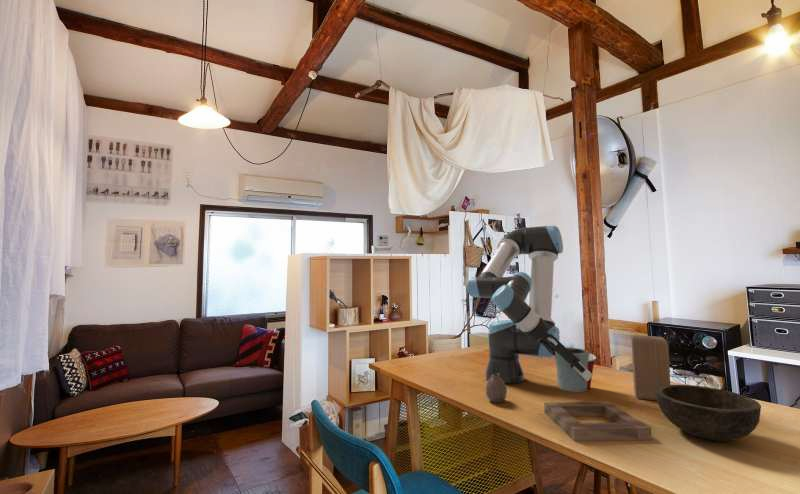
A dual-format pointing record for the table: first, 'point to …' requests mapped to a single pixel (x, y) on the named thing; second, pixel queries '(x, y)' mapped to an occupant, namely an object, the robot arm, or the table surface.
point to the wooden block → (649, 365)
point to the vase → (496, 389)
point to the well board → (618, 430)
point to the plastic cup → (590, 367)
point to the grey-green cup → (571, 371)
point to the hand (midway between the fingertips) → (581, 373)
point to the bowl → (709, 411)
